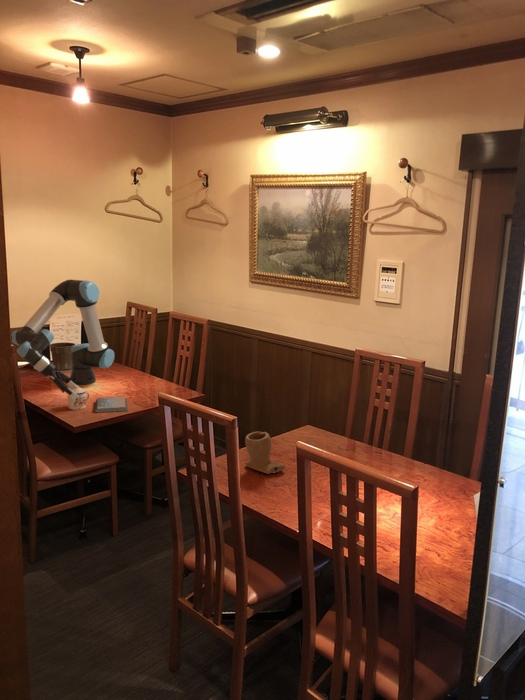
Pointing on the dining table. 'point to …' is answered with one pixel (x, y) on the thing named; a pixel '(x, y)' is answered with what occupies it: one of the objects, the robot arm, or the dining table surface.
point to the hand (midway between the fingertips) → (77, 394)
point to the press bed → (111, 404)
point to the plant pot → (61, 355)
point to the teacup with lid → (78, 399)
